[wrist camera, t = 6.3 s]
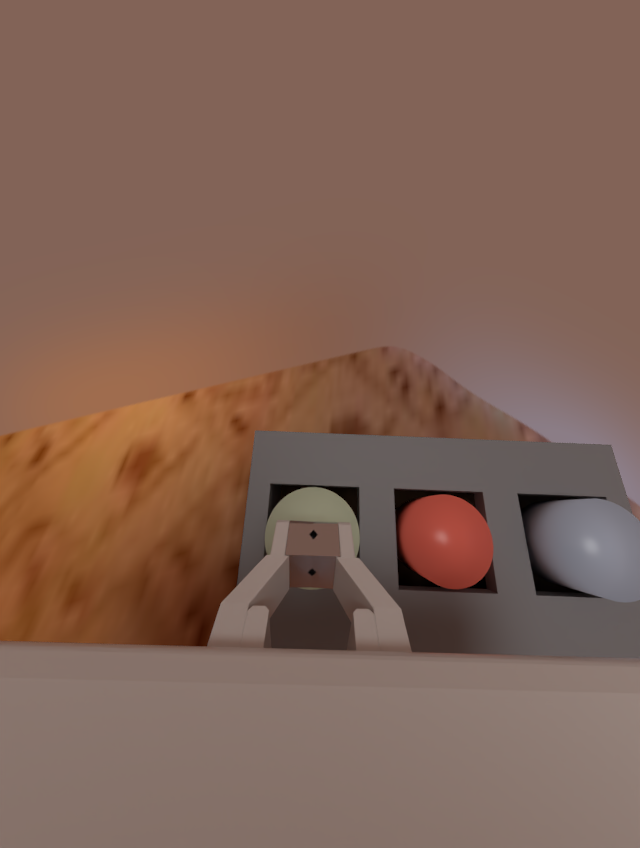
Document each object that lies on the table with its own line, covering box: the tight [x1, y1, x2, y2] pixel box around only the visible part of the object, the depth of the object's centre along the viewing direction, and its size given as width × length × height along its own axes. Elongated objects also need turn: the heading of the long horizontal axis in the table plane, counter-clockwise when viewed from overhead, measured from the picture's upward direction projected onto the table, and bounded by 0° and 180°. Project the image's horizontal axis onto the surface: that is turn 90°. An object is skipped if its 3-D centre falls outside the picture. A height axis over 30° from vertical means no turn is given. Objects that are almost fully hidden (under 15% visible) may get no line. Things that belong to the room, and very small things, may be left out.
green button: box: [265, 487, 360, 590], centre depth 15 cm, size 5×5×4 cm
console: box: [237, 431, 640, 658], centre depth 20 cm, size 23×12×9 cm, turn 88°
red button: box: [395, 494, 493, 589], centre depth 16 cm, size 5×5×4 cm
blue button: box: [520, 498, 640, 603], centre depth 15 cm, size 5×5×4 cm
